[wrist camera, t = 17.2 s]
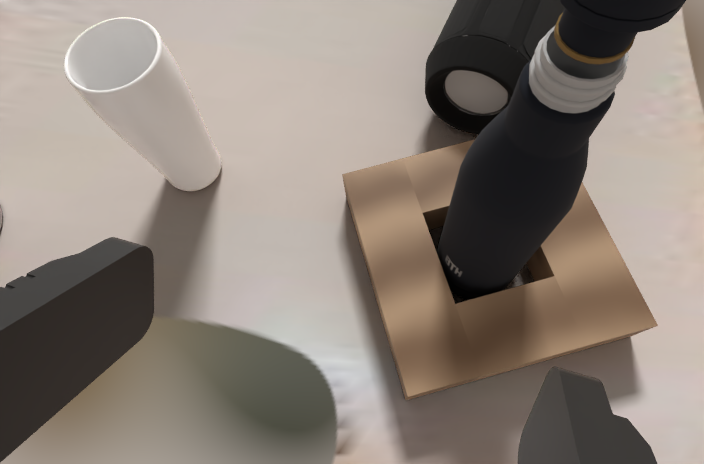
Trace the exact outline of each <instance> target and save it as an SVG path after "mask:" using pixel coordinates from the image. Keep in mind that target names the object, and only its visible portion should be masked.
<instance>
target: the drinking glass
mask: <svg viewBox="0 0 704 464" xmlns="http://www.w3.org/2000/svg"><path fill="white" fill-rule="evenodd" d="M64 71H65V75H66V78H67V79H68V81H69V82H70V84H71V85H72V86H73V87H74V88H75V90H76V91H77V92H78V93H79V95H80V96H81V97H82V98H83V100H84V101H85V102H86V103H87V104H88V105H89V107H90V108H91V109H92V110H93V111H94V112H95V113H96V114H97V115H98V116H99V117H100V118H101V119H102V120H103V121H104V122H105V123H106V124H107V125H108V126H109V127H110V128H111V129H112V130H113V131H114V132H115V133H116V134H118V135H119V136H120V137H121V138H122V139H123V140H124V141H126V142H127V143H128V144H129V145H130V146H131V147H132V148H133V149H135V150H136V151H137V152H138V153H139V154H140V155H141V156H142V157H144V158H145V159H146V160H147V161H148V162H149V163H150V164H151V165H153V166H154V167H155V168H156V169H157V170H158V171H159V172H160V173H161V174H162V175H163V176H164V177H165V178H166V179H167V180H168V181H169V182H170V183H171V184H172V185H173V186H174V187H176V188H178V189H180V190H183V191H197V190H201V189H203V188H205V187H207V186H209V185H210V184H211V183H212V182H213V181H214V180H215V179H216V178H217V176H218V175H219V173H220V170H221V164H222V162H221V156H220V153H219V151H218V150H217V148H216V146H215V145H214V143H213V141H212V139H211V136H210V134H209V132H208V130H207V127H206V125H205V123H204V121H203V118H202V116H201V114H200V111H199V109H198V107H197V104H196V102H195V100H194V98H193V95H192V93H191V91H190V88H189V86H188V84H187V82H186V80H185V77H184V75H183V73H182V72H181V70H180V68H179V66H178V64H177V62H176V60H175V59H174V57H173V55H172V54H171V52H170V50H169V49H168V47H167V46H166V44H165V43H164V41H163V40H162V38H161V37H160V35H159V33H158V32H157V30H156V29H155V28H154V27H153V26H151V25H150V24H149V23H147V22H145V21H143V20H140V19H136V18H129V17H121V18H113V19H109V20H105V21H102V22H100V23H97V24H95V25H93V26H92V27H90V28H88V29H87V30H85V31H84V32H83V33H81V34H80V35H79V36H78V37H77V38H76V39H75V40H74V42H73V43H72V44H71V46H70V47H69V49H68V51H67V53H66V56H65V60H64Z"/></svg>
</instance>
